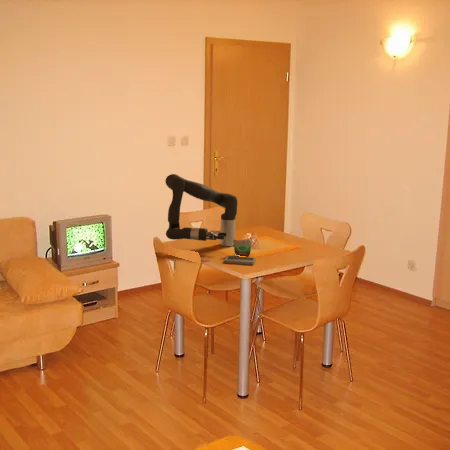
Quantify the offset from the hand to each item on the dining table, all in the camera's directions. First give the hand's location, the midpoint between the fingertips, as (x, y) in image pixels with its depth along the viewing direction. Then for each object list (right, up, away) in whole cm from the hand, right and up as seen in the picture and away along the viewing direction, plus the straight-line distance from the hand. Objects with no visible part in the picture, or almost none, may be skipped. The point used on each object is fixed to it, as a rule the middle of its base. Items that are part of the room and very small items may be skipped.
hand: (225, 236), depth 371 cm
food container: (+11, -12, +1) cm, 16 cm away
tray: (+9, -15, -12) cm, 21 cm away
